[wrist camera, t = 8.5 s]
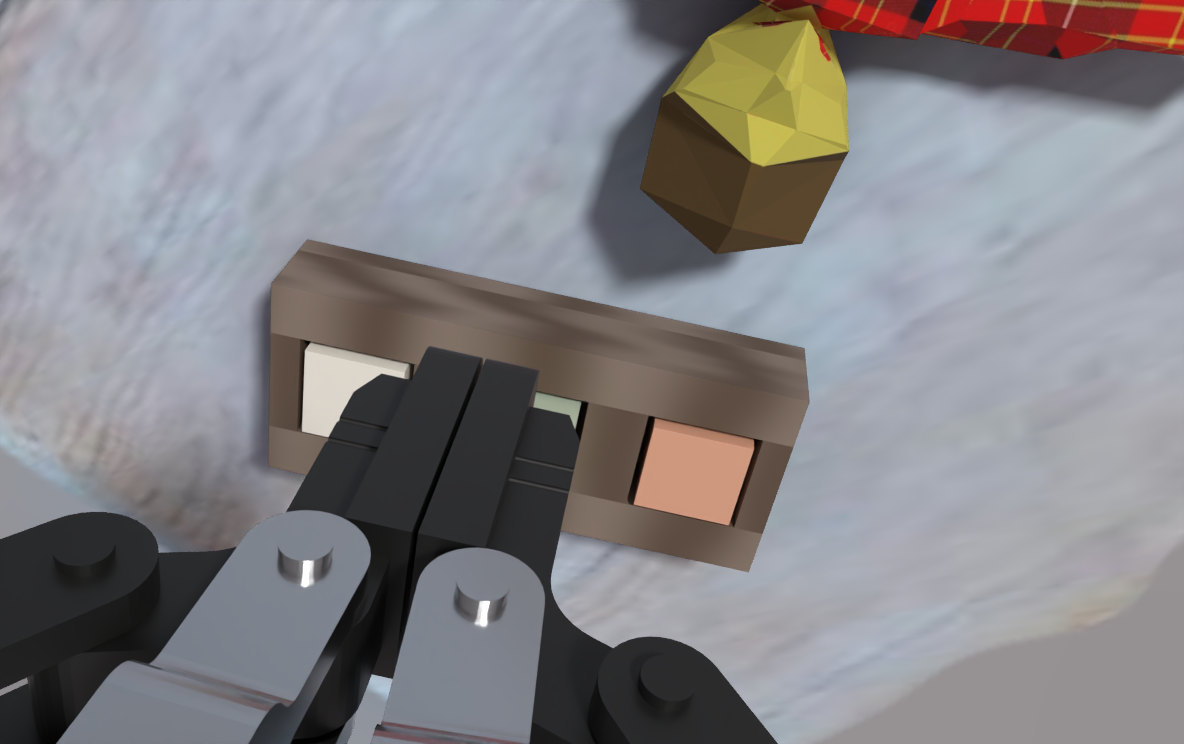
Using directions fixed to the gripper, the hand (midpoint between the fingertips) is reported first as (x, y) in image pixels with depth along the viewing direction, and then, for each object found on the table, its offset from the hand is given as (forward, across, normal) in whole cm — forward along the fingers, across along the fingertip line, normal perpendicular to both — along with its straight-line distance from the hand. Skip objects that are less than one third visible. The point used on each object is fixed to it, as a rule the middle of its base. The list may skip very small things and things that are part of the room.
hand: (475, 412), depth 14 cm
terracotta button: (+25, -6, +17) cm, 31 cm away
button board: (+27, +1, +18) cm, 32 cm away
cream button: (+26, +8, +17) cm, 32 cm away
